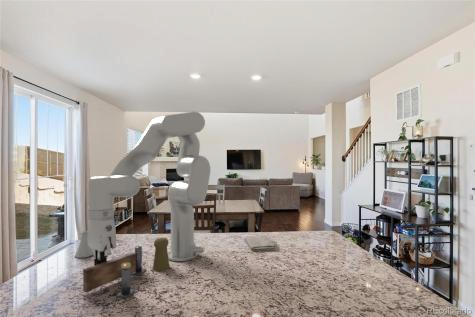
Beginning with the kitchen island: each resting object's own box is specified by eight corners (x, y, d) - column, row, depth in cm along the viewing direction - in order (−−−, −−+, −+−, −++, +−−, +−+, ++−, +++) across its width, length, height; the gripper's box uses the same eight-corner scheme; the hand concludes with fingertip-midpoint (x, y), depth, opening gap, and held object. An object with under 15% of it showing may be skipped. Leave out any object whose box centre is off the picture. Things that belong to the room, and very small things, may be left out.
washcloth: (251, 253, 110) (251, 246, 110) (243, 241, 128) (243, 234, 128) (277, 251, 112) (277, 244, 112) (265, 239, 130) (265, 233, 130)
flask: (98, 252, 111) (98, 229, 111) (87, 258, 104) (87, 234, 104) (83, 252, 112) (83, 229, 112) (70, 258, 104) (70, 234, 105)
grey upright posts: (152, 270, 93) (152, 245, 93) (129, 297, 74) (129, 266, 74) (135, 269, 93) (135, 245, 93) (107, 297, 74) (107, 266, 74)
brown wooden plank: (132, 270, 90) (132, 252, 90) (135, 271, 89) (136, 253, 89) (83, 291, 76) (83, 269, 76) (86, 292, 75) (86, 270, 75)
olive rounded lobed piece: (172, 265, 96) (172, 236, 97) (163, 272, 91) (163, 241, 91) (159, 263, 98) (159, 235, 99) (149, 270, 93) (149, 240, 93)
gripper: (124, 214, 82) (124, 272, 81) (101, 209, 90) (100, 261, 90) (101, 219, 75) (100, 280, 75) (78, 213, 84) (77, 268, 84)
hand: (100, 270), depth 82 cm, fingers closed
